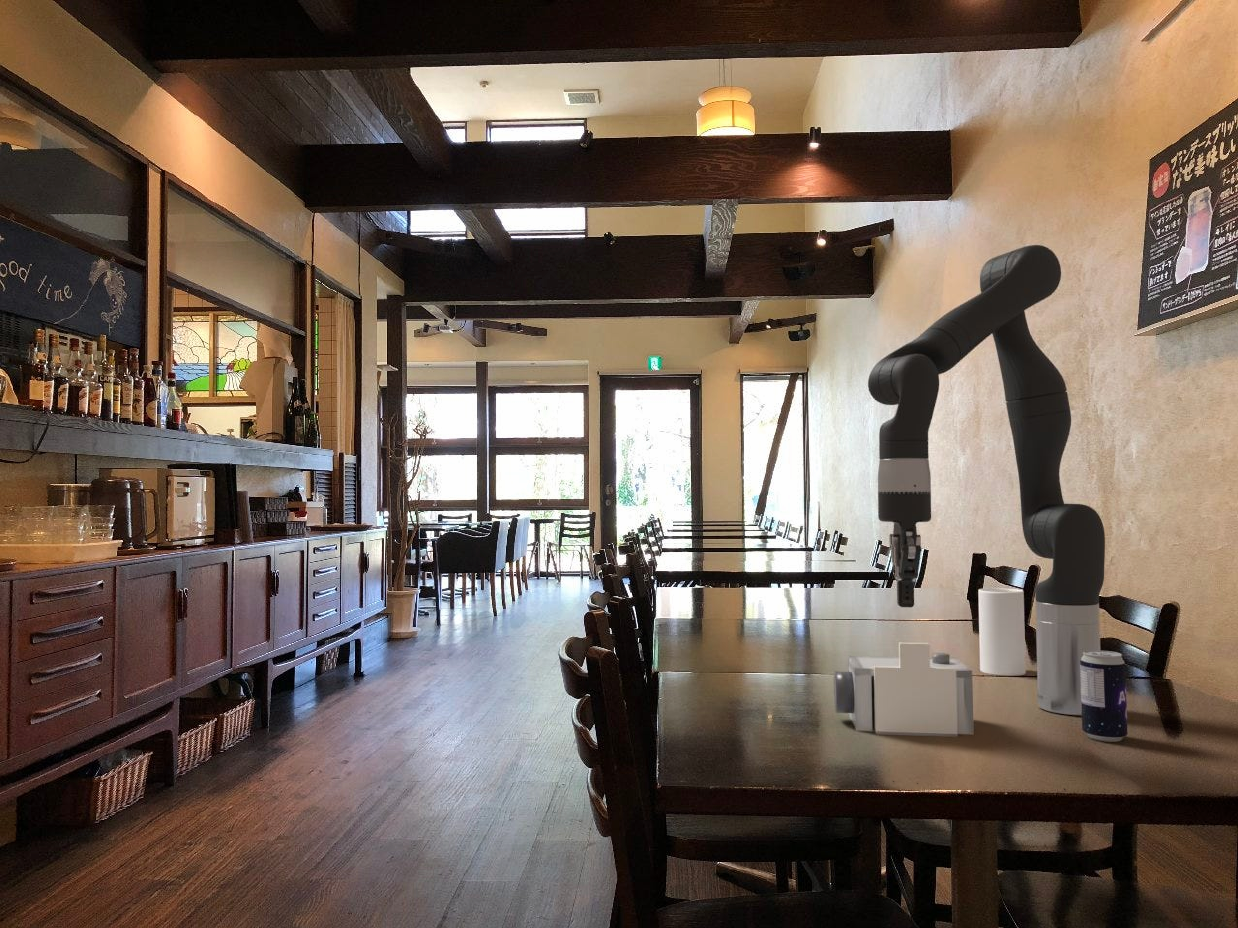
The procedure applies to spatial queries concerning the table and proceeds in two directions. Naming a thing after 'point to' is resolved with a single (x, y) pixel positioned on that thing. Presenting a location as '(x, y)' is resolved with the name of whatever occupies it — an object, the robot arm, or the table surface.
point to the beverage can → (1103, 695)
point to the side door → (915, 695)
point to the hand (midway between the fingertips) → (905, 606)
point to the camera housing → (859, 690)
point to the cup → (1002, 631)
